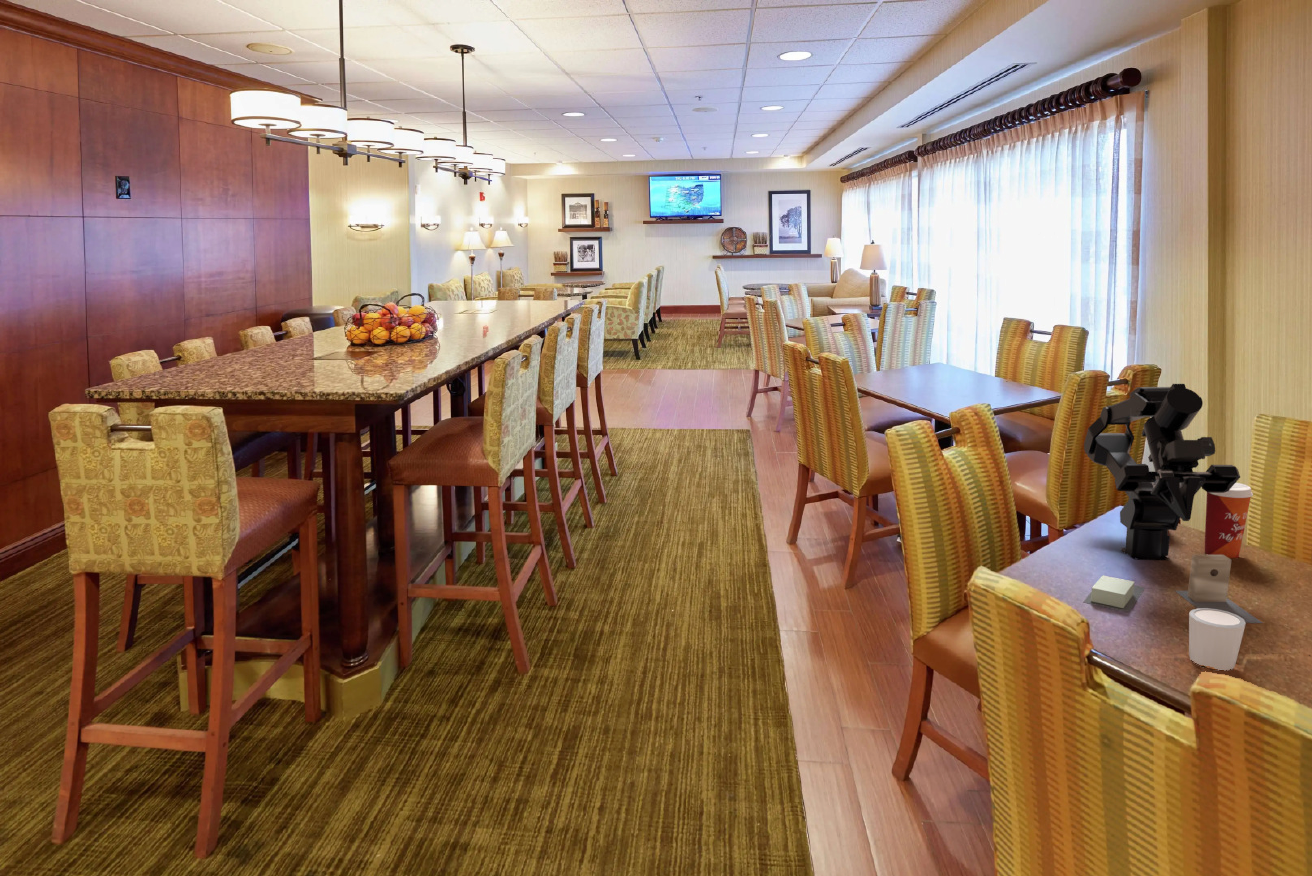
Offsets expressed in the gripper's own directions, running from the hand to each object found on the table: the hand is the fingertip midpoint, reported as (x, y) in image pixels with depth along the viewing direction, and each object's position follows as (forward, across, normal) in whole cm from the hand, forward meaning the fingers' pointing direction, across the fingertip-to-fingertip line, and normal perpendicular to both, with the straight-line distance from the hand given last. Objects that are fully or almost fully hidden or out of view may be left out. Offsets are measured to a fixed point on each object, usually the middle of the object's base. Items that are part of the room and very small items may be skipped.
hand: (1187, 520), depth 148 cm
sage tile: (+11, -12, +4) cm, 17 cm away
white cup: (+29, -7, -11) cm, 32 cm away
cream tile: (+13, +2, +4) cm, 14 cm away
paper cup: (-4, +15, +22) cm, 27 cm away
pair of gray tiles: (+14, -7, +4) cm, 16 cm away
